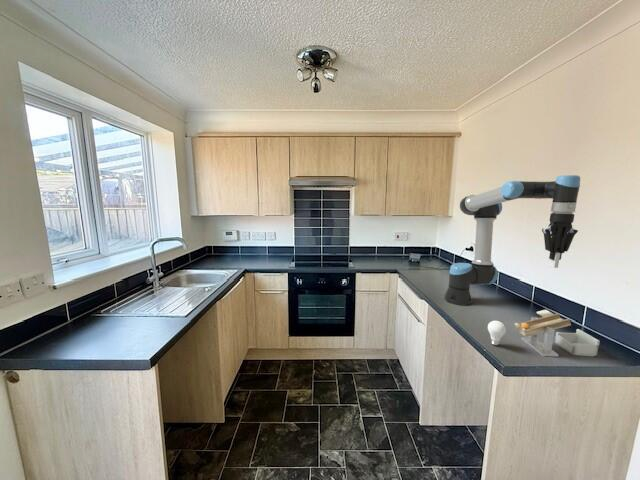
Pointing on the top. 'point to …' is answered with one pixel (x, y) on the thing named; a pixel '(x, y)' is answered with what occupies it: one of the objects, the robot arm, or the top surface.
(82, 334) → the top surface
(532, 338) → the stand
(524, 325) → the ball
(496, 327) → the light bulb
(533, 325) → the lever
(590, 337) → the tray
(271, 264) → the top surface
